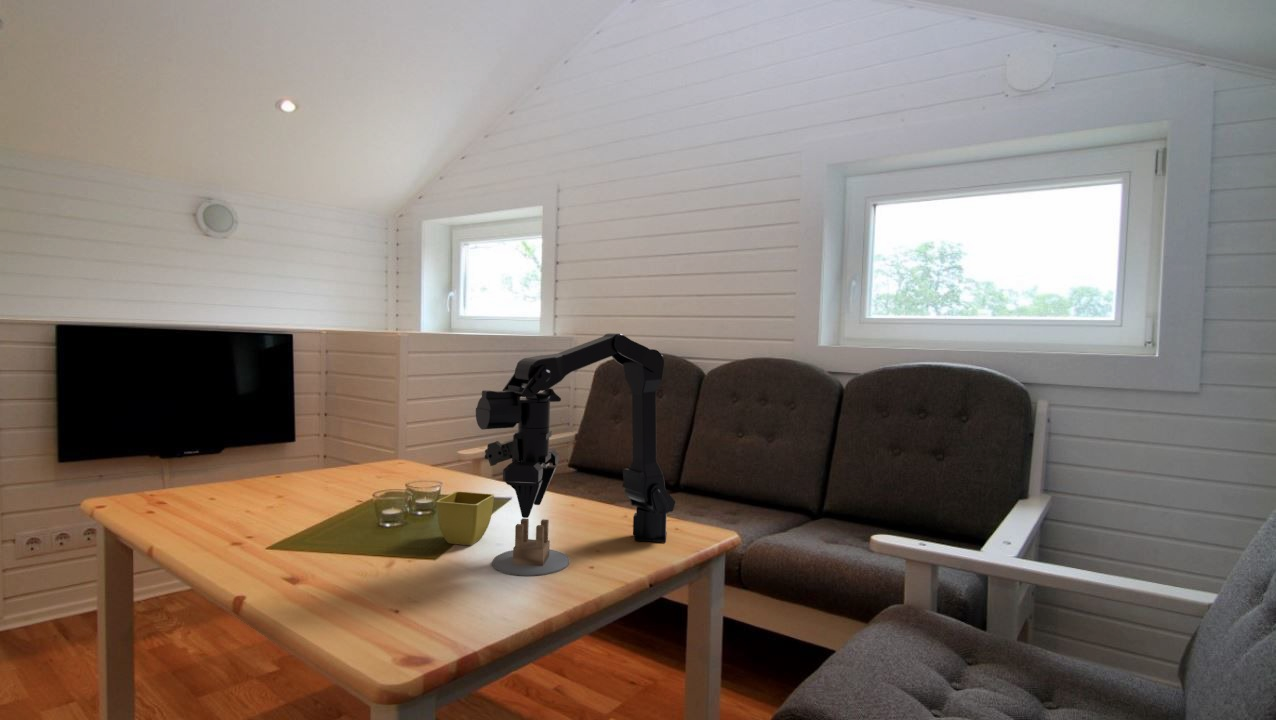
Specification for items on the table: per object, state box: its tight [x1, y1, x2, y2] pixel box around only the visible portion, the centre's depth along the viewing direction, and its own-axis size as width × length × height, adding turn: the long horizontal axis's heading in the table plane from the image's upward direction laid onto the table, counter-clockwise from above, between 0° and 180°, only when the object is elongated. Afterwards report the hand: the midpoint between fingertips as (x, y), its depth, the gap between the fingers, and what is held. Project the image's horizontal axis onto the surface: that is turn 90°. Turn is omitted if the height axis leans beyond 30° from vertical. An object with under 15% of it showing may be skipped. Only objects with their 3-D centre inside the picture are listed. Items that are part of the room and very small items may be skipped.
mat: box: [492, 548, 570, 577], centre depth 123 cm, size 14×14×1 cm
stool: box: [512, 517, 551, 566], centre depth 123 cm, size 6×6×7 cm
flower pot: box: [435, 490, 495, 546], centre depth 134 cm, size 9×9×9 cm
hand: (531, 510), depth 123 cm, fingers open, 9 cm apart
